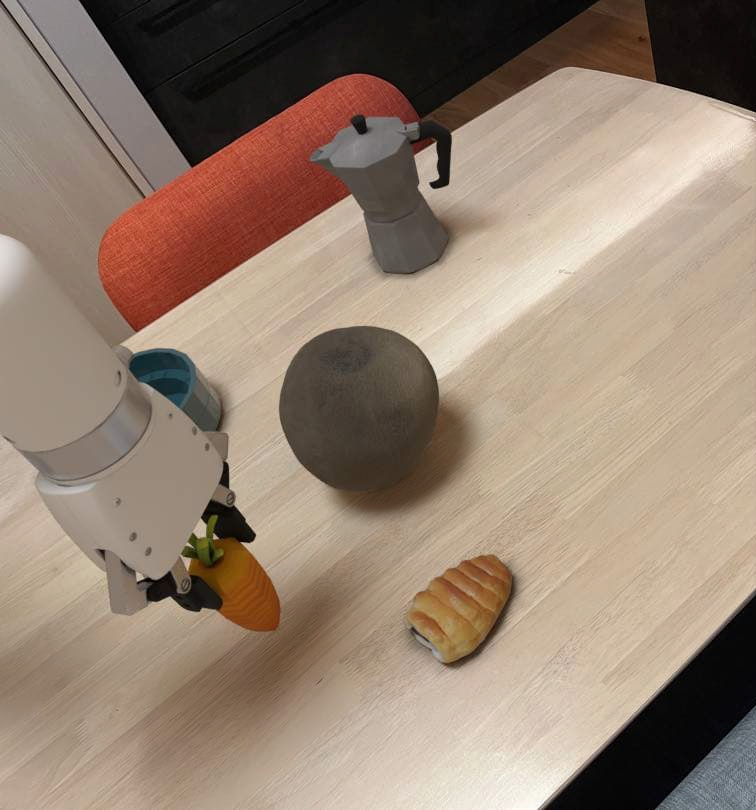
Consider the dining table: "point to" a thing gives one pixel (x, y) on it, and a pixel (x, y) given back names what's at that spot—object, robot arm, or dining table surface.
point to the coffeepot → (391, 186)
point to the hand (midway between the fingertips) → (221, 569)
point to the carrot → (235, 580)
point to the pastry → (460, 607)
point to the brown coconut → (359, 407)
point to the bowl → (179, 384)
